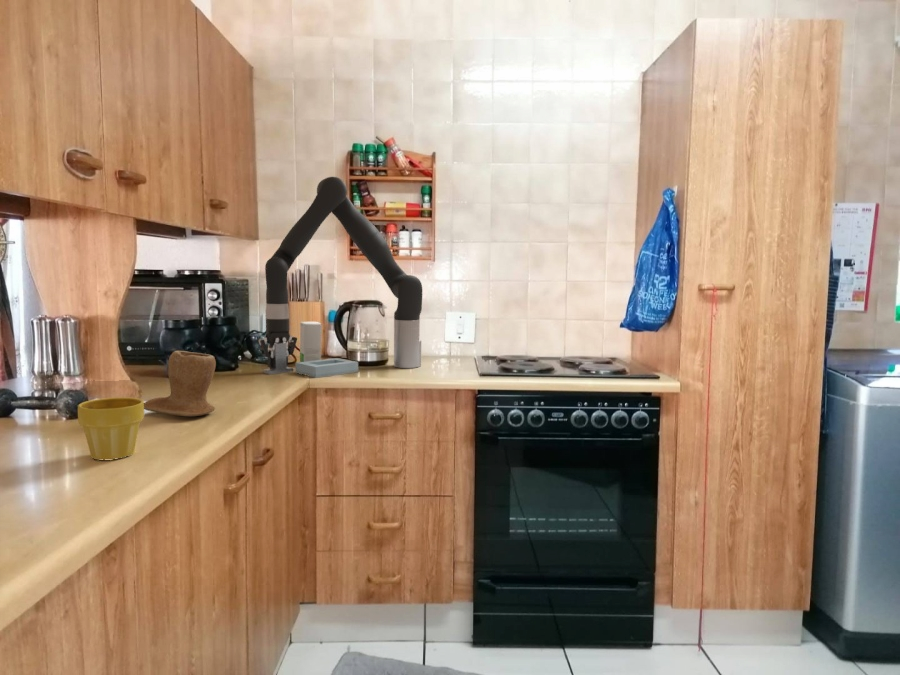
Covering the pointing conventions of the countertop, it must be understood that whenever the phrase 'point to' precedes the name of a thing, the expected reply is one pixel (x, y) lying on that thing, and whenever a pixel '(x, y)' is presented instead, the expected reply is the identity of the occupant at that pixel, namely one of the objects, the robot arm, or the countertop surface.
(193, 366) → the brown hat-shaped piece
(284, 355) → the bracket
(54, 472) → the countertop surface
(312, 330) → the skincare box
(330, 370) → the well block
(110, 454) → the plant pot
